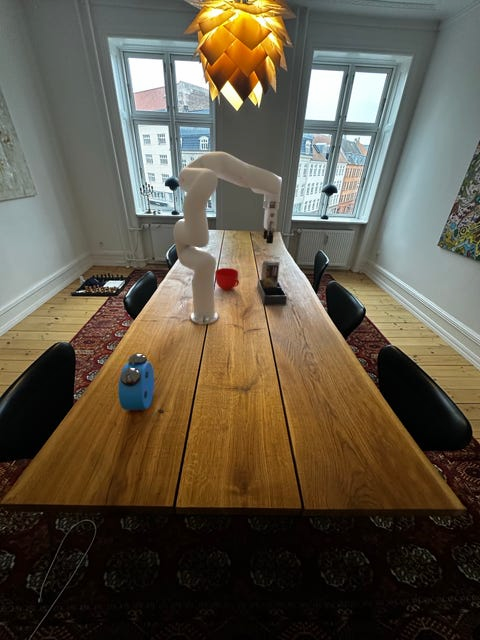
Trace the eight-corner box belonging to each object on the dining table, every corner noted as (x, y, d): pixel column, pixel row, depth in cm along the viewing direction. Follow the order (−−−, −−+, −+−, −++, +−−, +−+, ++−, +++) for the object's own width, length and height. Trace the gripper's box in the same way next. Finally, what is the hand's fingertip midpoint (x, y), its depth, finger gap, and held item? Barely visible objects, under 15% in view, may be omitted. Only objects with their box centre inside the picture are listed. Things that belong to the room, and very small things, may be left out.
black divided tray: (285, 304, 134) (287, 295, 131) (263, 305, 132) (264, 296, 130) (276, 287, 153) (277, 279, 150) (257, 287, 152) (257, 279, 149)
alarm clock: (137, 385, 81) (128, 347, 73) (157, 385, 81) (150, 347, 74) (124, 421, 70) (112, 380, 62) (147, 420, 70) (138, 379, 63)
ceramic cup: (228, 297, 139) (228, 280, 133) (211, 287, 150) (210, 270, 145) (246, 291, 146) (247, 275, 141) (228, 282, 157) (228, 266, 152)
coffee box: (277, 289, 149) (280, 261, 141) (275, 293, 143) (279, 265, 135) (261, 287, 151) (264, 260, 142) (259, 291, 145) (262, 263, 137)
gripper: (282, 207, 117) (278, 245, 126) (275, 203, 132) (271, 237, 140) (266, 207, 116) (263, 245, 125) (260, 202, 131) (258, 237, 140)
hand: (267, 241), depth 133 cm, fingers open, 9 cm apart
